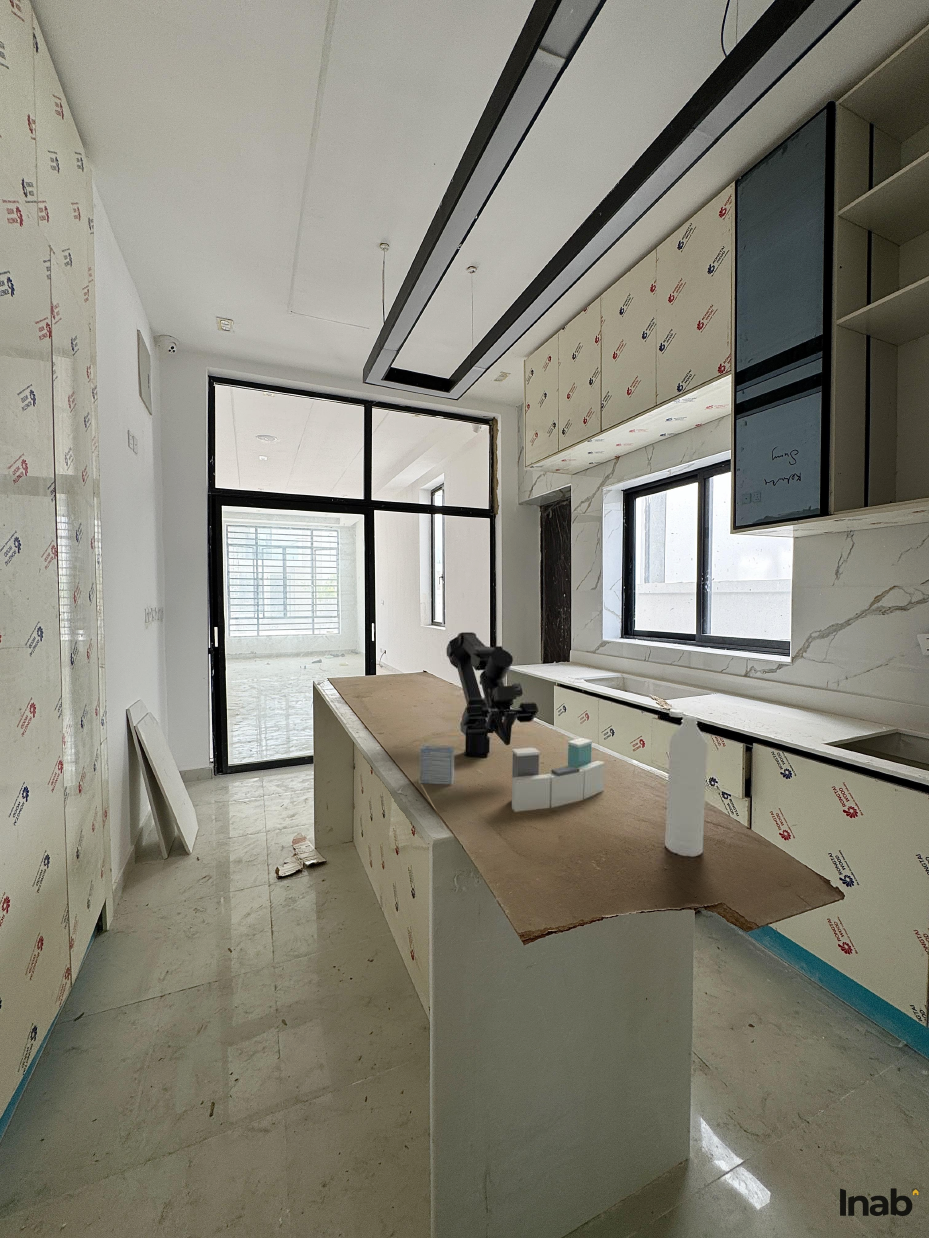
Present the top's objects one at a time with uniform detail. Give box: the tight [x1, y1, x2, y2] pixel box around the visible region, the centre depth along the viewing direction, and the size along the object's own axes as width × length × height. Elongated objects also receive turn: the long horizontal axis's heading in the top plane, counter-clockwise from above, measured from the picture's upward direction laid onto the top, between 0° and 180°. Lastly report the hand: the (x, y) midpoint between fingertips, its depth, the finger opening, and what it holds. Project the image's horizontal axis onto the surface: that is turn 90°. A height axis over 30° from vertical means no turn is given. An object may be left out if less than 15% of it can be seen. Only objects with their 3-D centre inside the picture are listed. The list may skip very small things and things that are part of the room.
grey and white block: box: [511, 747, 541, 777], centre depth 117 cm, size 3×5×12 cm, turn 106°
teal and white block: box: [567, 737, 593, 768], centre depth 124 cm, size 3×5×12 cm, turn 133°
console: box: [511, 760, 606, 813], centre depth 118 cm, size 26×4×8 cm, turn 120°
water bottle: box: [664, 708, 708, 858], centre depth 98 cm, size 9×6×25 cm
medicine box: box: [419, 744, 455, 786], centre depth 128 cm, size 8×4×9 cm, turn 84°
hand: (508, 744), depth 127 cm, fingers closed
